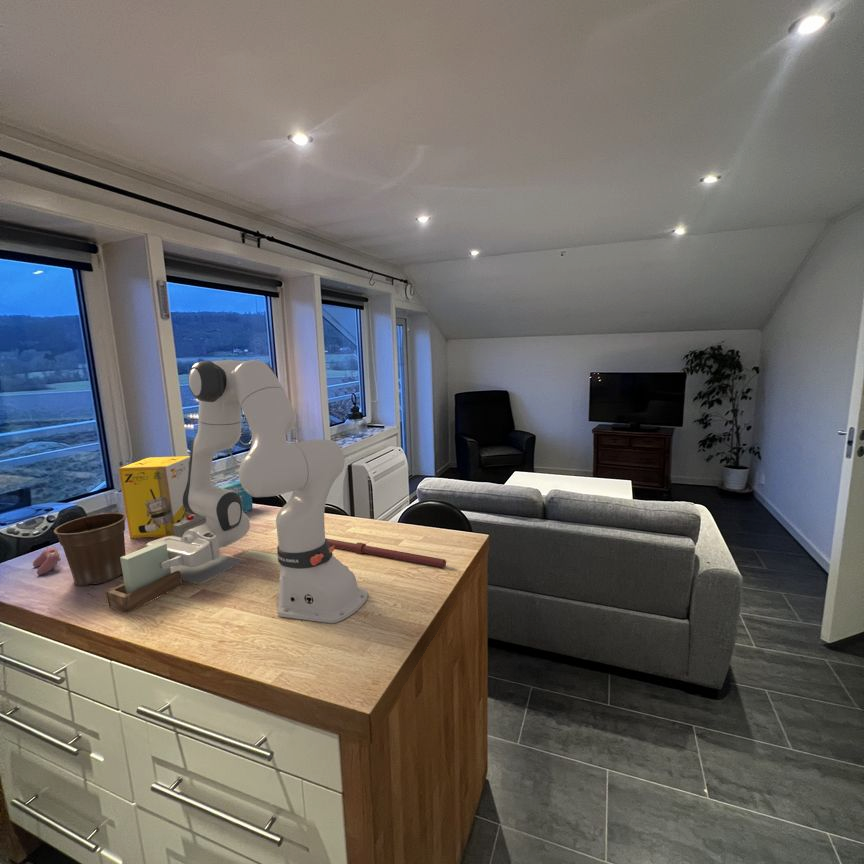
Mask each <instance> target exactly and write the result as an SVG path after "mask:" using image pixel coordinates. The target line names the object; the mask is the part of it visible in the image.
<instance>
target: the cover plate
mask: <svg viewBox="0 0 864 864" xmlns="http://www.w3.org/2000/svg"><path fill="white" fill-rule="evenodd" d="M120 560H121V566H122V572H123V574H122V576H123V582H124V583H125V589H126V594H129V593H131V592H133V591H135V590H137V589H139V588H141V587H143V586H146V585H148V584H150V583H152V582H154V581H156V580H158V579H161V578H163V577H165V576H167V575H169V574H171V570H170V568H171V567H169V568H167V569H161V568H160V565H159V563H160V562H162V561H164V560H169V557H168V550H167V544H166V543H162V542H158V543H155V544H153V545H150V546H148V547H145V546H144V547H143V548H140V549H138V550H135V551H133V552H130V553H127V554H126V555H125V556H123V557H120Z"/></svg>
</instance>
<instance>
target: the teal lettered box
mask: <svg viewBox="0 0 864 864" xmlns="http://www.w3.org/2000/svg"><path fill="white" fill-rule="evenodd" d="M217 487H220V488H223V489H227V490H230V491H232V492H235V493H237V494H238V495H239V496H240V497H241V500H242V510H243V512H244V513H247V512H249V510H250V511H252V509H253V496H251V495H250V494H248V493H247V492H246V491H245V490H244V488H243V487H242V485H241V483H240V480H237V481H233V482H230V483H226V484H222V485H218V486H217ZM246 511H247V512H246Z"/></svg>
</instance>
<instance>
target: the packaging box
mask: <svg viewBox="0 0 864 864" xmlns="http://www.w3.org/2000/svg"><path fill="white" fill-rule="evenodd" d="M189 462H190V455H185V456H182V455H181V456H179V455H178V456H157V457H156V456H152V457H147V458H143V459H141V460H139V461H136V462H132V463H130V464H127V465H124V466H122V467H118V471H119V478H120V485H121V491H122V494H123V495H122V497H123V503H124V508H125V515H126V520H127V521H126V522H127V526H128V527H127V528H128V533H129V539H141V538H140V537H154V538H163V537H167V536H174V533H173V526H172V525H174V524H176V523H179V522H181V521H184V520H186V519H187V517H188V516H190V515H193V514H191V513H189V512H187V511H186V510H185V508H184V506H183V495H184V492H185V489H186V485H187V481H188V472H189ZM137 537H138V538H137Z"/></svg>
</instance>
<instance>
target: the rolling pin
mask: <svg viewBox="0 0 864 864" xmlns="http://www.w3.org/2000/svg"><path fill="white" fill-rule="evenodd" d="M325 538H326V539H327V541H328V543H329V546H330V547H332V546H334V545H335V547H334V549H336V548H337V549H340V548H341V549H342V550H345V551H346V550H348V551H351V552H352V551H354V552H355V554H359V553H360V554H359V555H363V554H369V555H373V556H379V557H384V558H389V559H395V560H401V561H405V562H406V561H407V562H410V563H411V562H412V563H416V564H421V565H427V566H433V567H438V568H443V569H445V567H446V566H447V560H446V559H444V558H441V557H440V558H439V557H433V556H428V555H423V554H422V555H421V554H417V553H411V552H405V551H399V550H394V549H389V548H382V547H377V546H371V545H367V544H366V543H363V542H357V543H355V542H349V541H344V540H343V541H342V540H338V539H331V538H327V537H325ZM362 553H363V554H362Z"/></svg>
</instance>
